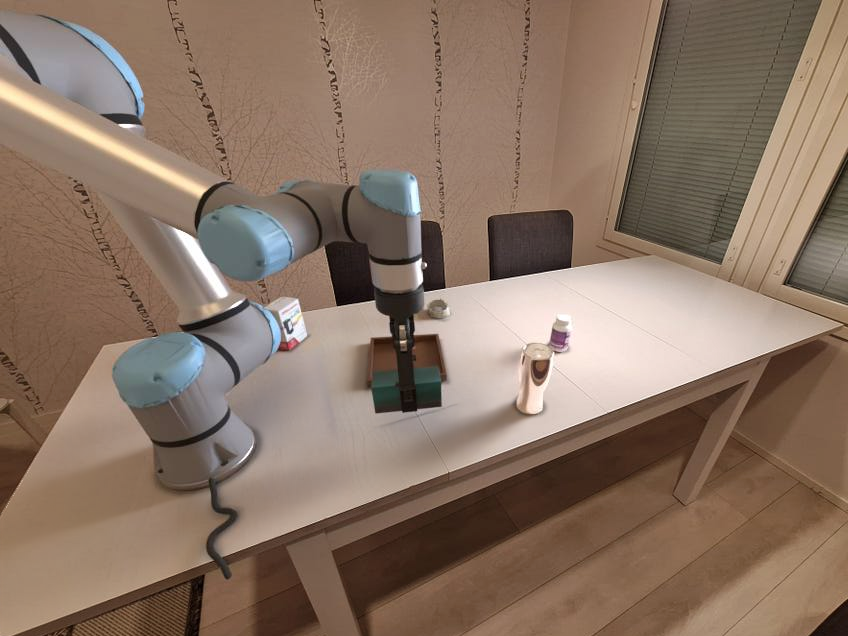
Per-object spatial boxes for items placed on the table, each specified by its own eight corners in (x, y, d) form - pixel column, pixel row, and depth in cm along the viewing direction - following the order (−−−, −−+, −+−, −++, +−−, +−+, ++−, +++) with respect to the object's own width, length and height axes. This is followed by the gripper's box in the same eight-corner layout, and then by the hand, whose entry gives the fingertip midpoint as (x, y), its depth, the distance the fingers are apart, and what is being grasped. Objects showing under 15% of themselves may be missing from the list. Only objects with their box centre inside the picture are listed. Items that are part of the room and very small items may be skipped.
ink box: (289, 351, 98) (277, 311, 92) (273, 348, 99) (260, 309, 92) (308, 335, 105) (298, 297, 99) (292, 333, 106) (282, 295, 99)
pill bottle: (567, 353, 104) (573, 323, 98) (548, 350, 104) (553, 320, 99) (567, 343, 108) (573, 314, 103) (549, 341, 109) (554, 312, 103)
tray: (446, 382, 90) (446, 374, 89) (368, 388, 87) (366, 380, 86) (438, 340, 106) (438, 333, 105) (371, 344, 103) (370, 337, 101)
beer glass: (536, 420, 81) (546, 364, 72) (508, 407, 84) (515, 352, 75) (549, 402, 86) (560, 348, 77) (522, 391, 89) (530, 338, 80)
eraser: (441, 406, 69) (441, 381, 65) (375, 413, 66) (371, 387, 63) (439, 390, 72) (438, 365, 69) (376, 396, 70) (372, 371, 67)
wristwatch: (454, 317, 118) (454, 303, 115) (436, 322, 115) (436, 308, 112) (440, 306, 124) (439, 293, 121) (423, 310, 121) (422, 296, 118)
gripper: (428, 309, 50) (433, 432, 63) (419, 263, 64) (425, 371, 77) (370, 312, 48) (388, 437, 61) (375, 264, 63) (388, 374, 76)
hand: (408, 400), depth 69 cm, fingers closed on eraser, 5 cm apart
